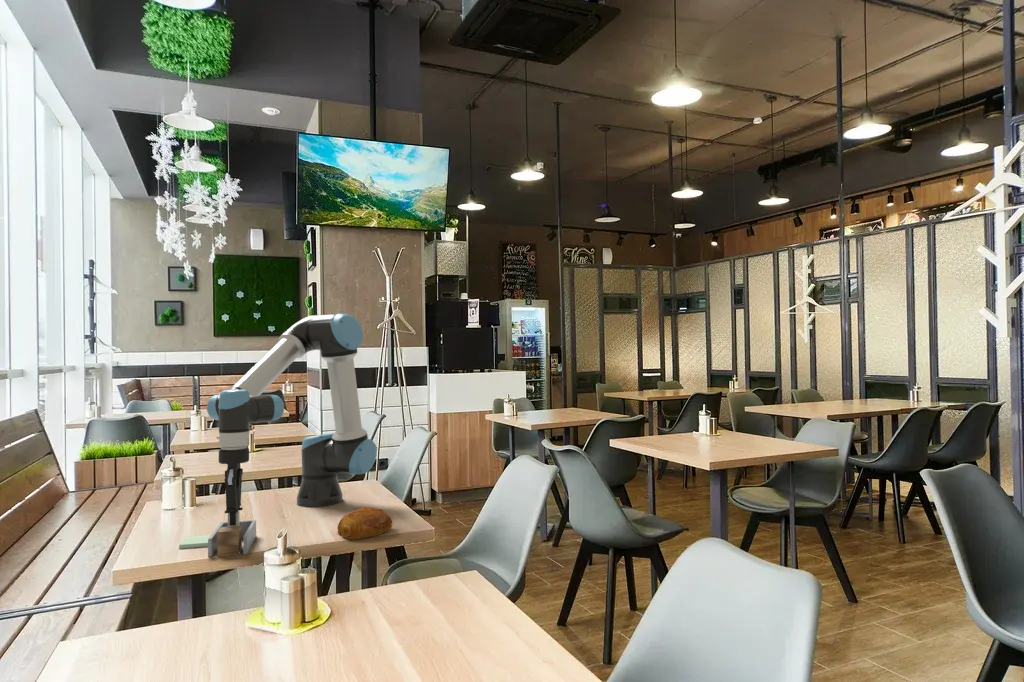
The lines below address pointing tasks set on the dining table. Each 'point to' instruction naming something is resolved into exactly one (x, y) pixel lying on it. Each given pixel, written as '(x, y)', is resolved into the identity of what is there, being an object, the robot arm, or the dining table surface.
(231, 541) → the block
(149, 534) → the dining table surface
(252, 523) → the u-shaped bracket
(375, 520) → the brown oval lump
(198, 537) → the coaster
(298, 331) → the robot arm
